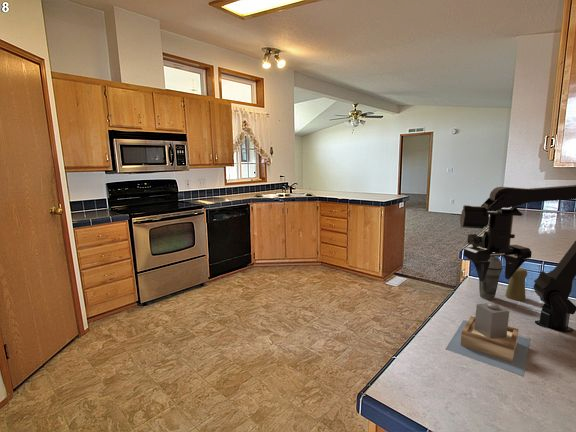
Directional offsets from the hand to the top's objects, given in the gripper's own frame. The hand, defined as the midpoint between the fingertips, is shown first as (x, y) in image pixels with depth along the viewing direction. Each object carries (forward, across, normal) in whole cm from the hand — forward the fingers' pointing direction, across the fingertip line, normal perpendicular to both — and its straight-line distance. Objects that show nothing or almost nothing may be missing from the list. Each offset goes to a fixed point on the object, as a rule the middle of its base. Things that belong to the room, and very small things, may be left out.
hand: (494, 280), depth 95 cm
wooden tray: (+12, +13, +13) cm, 22 cm away
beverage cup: (+13, -12, -14) cm, 22 cm away
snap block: (+9, +13, +13) cm, 20 cm away
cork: (+13, -22, -12) cm, 28 cm away
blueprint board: (+12, +13, +13) cm, 22 cm away
